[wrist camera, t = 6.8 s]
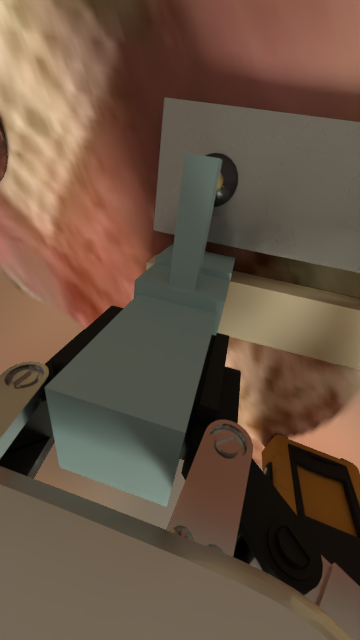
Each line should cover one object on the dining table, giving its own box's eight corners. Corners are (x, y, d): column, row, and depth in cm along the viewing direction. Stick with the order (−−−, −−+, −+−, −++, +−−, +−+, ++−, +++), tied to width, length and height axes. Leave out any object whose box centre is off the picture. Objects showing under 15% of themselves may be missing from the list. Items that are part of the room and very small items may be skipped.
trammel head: (258, 170, 13) (276, 135, 3) (215, 333, 18) (169, 522, 8) (182, 157, 13) (-24, 94, 3) (162, 319, 18) (57, 480, 9)
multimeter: (200, 470, 27) (113, 950, 10) (233, 413, 22) (167, 1204, 5) (334, 526, 26) (485, 1170, 9) (403, 479, 21) (1068, 1806, 4)
